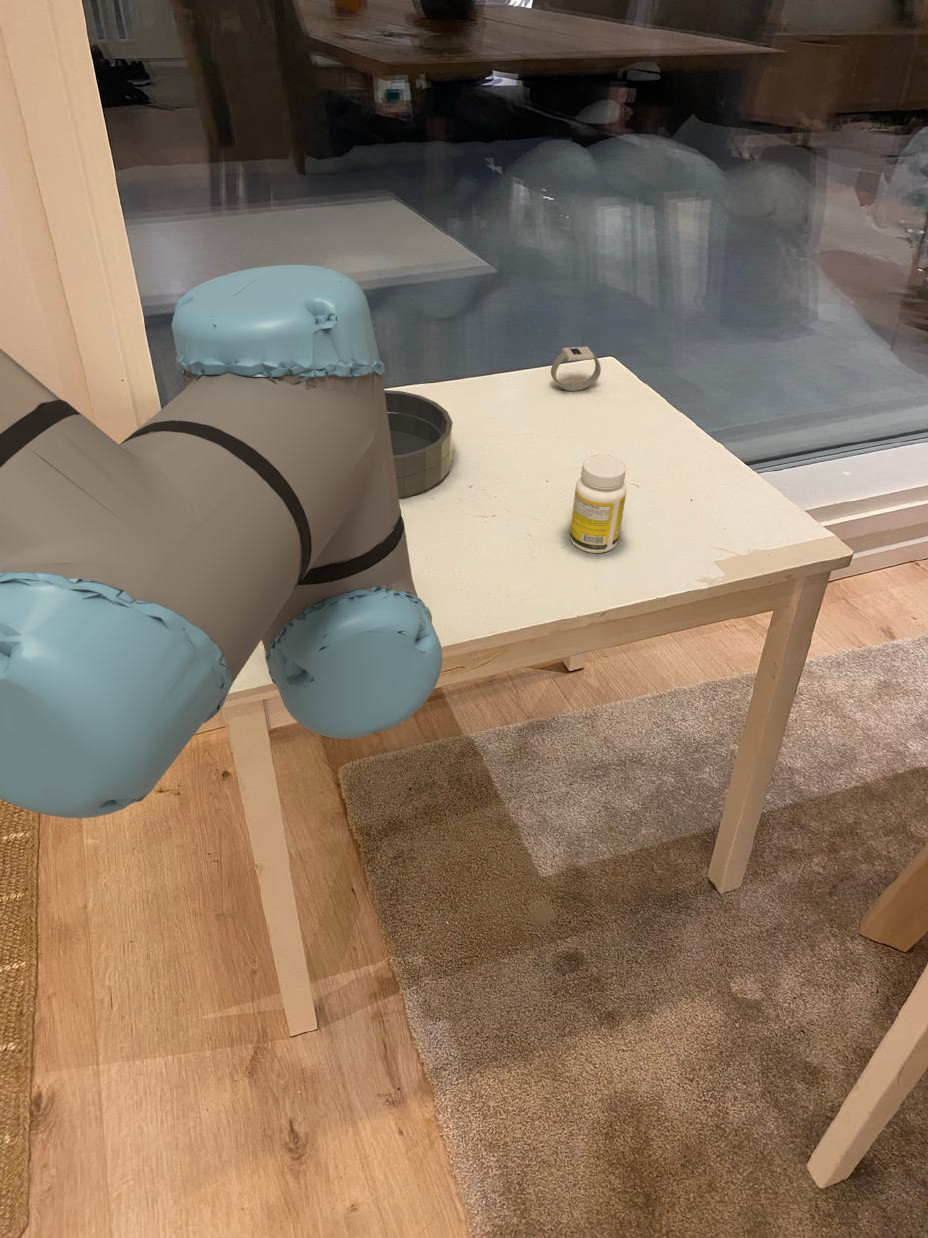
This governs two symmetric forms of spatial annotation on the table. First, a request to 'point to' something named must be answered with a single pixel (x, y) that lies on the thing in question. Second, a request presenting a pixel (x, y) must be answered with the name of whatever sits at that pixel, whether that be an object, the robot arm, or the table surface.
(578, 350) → the wristwatch
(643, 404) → the table surface
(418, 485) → the pan
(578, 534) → the supplement bottle
